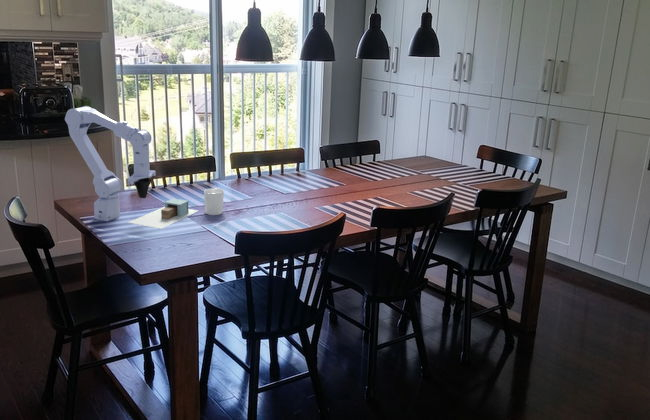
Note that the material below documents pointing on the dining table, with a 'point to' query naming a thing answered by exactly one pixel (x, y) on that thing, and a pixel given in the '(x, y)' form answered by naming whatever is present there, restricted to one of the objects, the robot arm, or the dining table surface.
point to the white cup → (213, 201)
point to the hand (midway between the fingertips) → (142, 197)
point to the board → (158, 219)
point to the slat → (169, 212)
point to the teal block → (178, 206)
